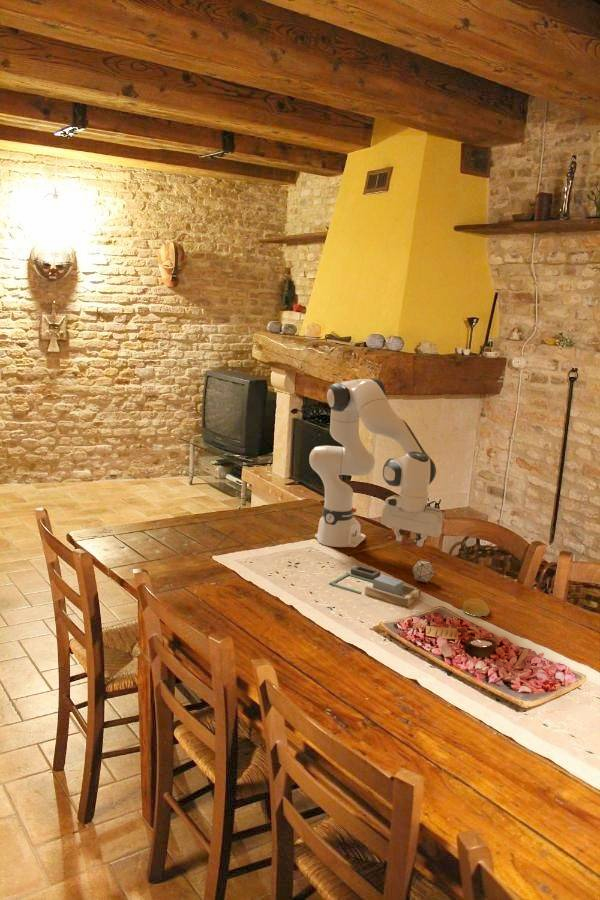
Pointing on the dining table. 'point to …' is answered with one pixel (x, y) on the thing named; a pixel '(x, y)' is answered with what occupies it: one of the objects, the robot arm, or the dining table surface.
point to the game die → (423, 571)
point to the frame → (346, 587)
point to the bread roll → (476, 607)
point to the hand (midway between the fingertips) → (409, 543)
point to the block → (388, 585)
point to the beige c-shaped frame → (404, 601)
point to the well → (365, 572)
